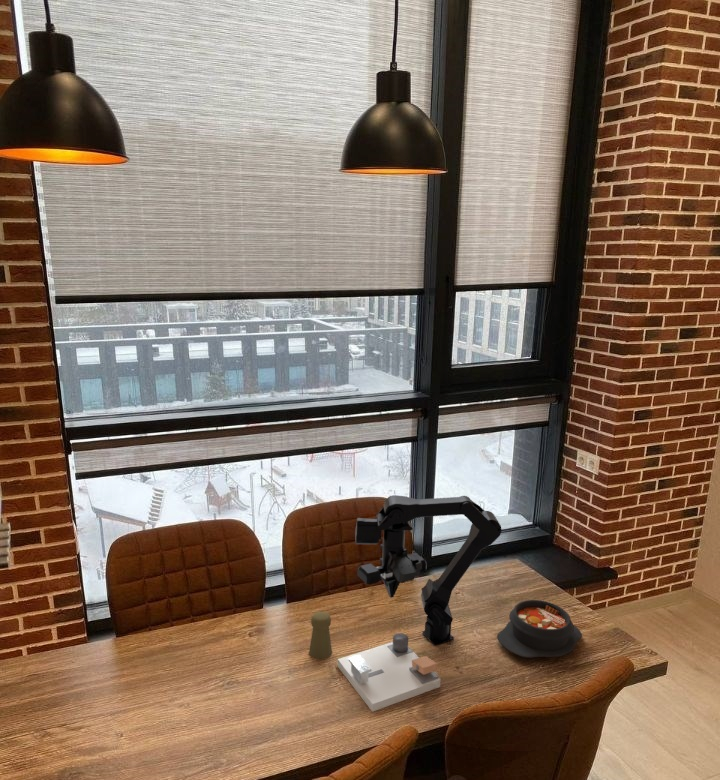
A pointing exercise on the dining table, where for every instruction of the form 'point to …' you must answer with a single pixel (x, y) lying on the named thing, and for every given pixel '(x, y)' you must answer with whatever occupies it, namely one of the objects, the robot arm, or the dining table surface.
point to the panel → (389, 676)
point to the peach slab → (424, 665)
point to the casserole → (539, 630)
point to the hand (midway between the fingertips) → (391, 596)
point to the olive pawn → (320, 636)
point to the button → (400, 643)
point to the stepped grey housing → (360, 669)
